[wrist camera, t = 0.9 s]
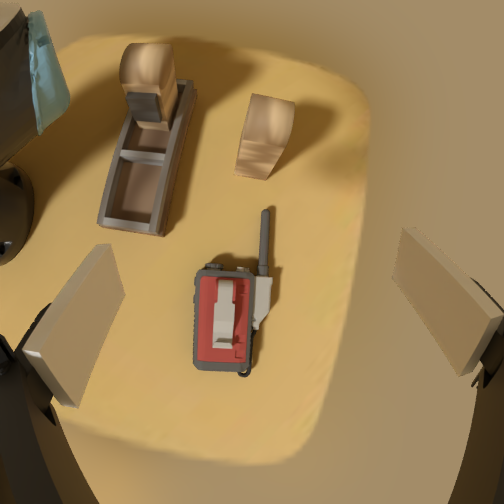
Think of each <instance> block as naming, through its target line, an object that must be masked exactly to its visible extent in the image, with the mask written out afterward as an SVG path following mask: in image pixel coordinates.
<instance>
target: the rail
mask: <svg viewBox="0 0 504 504" xmlns="http://www.w3.org/2000/svg"><path fill="white" fill-rule="evenodd" d="M119 74H120V82H121V85H122V87H123V90H124V92H125V95H126V101H127V103H128V106H129V110H128V113H127V116H126V118H125V121H124V124H123V127H122V130H121V133H120V136H119V139H118V142H117V146H116V149H115V152H114V155H113V159H112V162H111V166H110V169H109V173H108V177H107V181H106V184H105V188H104V192H103V197H102V201H101V205H100V210H99V214H98V219H97V224H99V226H101V227H103V228H109V229H115V230H121V231H128V232H134V233H140V234H147V235H153V236H160V237H164V235H165V229H166V224H167V219H168V213H169V208H170V203H171V198H172V194H173V189H174V184H175V180H176V175H177V171H178V166H179V162H180V158H181V154H182V150H183V146H184V142H185V138H186V134H187V130H188V126H189V122H190V119H191V115H192V111H193V108H194V104H195V101H196V97H197V89H194V87H193V81H192V80H182V79H176V74H175V66H174V57H173V49H172V46H171V44H156V43H131V44H129V45H128V46H127V48H126V49H125V51H124V53H123V56H122V59H121V63H120V73H119Z"/></svg>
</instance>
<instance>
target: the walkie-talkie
mask: <svg viewBox="0 0 504 504" xmlns="http://www.w3.org/2000/svg"><path fill="white" fill-rule="evenodd" d="M269 225H270V212H269V210H267V209H264V210H263V211H262V212H261V230H260V248H259V265H258V266H257V276H254V275H253V273H250V272H249V268H244V267H237V270H236V272H231V271H221V269H223V266H224V265H223V264H216V263H206V264H205V267H206V268H207V270H200V269H199V271H198V272H197V273H196V277H195V281H194V285H195V286H196V288H195V295H194V299H193V303H195V308H194V312H195V315H194V317H195V319H194V322H195V323H194V335H193V336H194V339H193V341H194V343H193V346H194V347H193V364H194V365H195V367H196V368H197V369H198V370H204V371H225V372H237V373H238V375H239V376H241V377H247V376H249V374H250V372H251V364H252V347H253V338H254V335H255V334H256V331H257V330H259V323H260V322H261V321H262V320H263V319H264V317H265V316H266V315H267V314H268V313H269V311H270V298H271V285H272V284H273V277H268V269H269V267H268V246H269ZM251 327H252V328H251ZM252 329H253V331H252V333H251V330H252ZM247 368H248V369H247ZM246 369H247V372H246V373H241V372H243V371H245V370H246Z"/></svg>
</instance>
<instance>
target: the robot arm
mask: <svg viewBox="0 0 504 504" xmlns="http://www.w3.org/2000/svg"><path fill="white" fill-rule="evenodd" d="M69 103H70V93H69V89H68V87H67V84H66V81H65V78H64V75H63V73H62V70H61V67H60V64H59V61H58V58H57V56H56V53H55V50H54V46H53V43H52V40H51V38H50V34H49V31H48V28H47V25H46V22H45V19H44V15H43V12H42V11H40V10H39V11H36V12H31V13H30V14H29V15H28V17H26V16H25V15H24V13H23V11H22V9H21V7H20V5H19V4H18V3H0V266H2V265H4V264H6V263H8V262H9V261H10V260H12V259H13V258H14V257H15V256H16V254H17V253H18V252H19V251H20V249H21V248H22V246H23V244H24V242H25V240H26V238H27V236H28V233H29V230H30V227H31V223H32V219H33V212H34V194H33V188H32V184H31V182H30V179H29V177H28V176H27V174H26V173H25V172H24V171H23V170H22V169H21V168H19V167H18V166H16V165H14V164H13V163H10V162H7V161H8V160H9V159H10V158H11V157H12V156H14V155H15V154H16V153H17V152H18V151H19V150H20V149H21V148H22V147H24V146H25V145H26V144H27V143H28V142H29V141H31V140H32V139H33V138H34V137H35V136H37V135H38V136H40V135H41V134H42V133H43V130H44V129H46V128H47V127H48V126H49V125H50V124H52V123H53V122H54V121H55V120H56V119H58V118H59V117H60V116H61V115H63V114H64V112H65V111H66V110H67V108H68V106H69ZM392 279H393V280H394V282H395V283H396V284H397V286H398V287H399V288H400V290H401V291H402V292H403V294H404V295H405V297H406V298H407V299H408V301H409V302H410V304H411V305H412V306H413V308H414V309H415V311H416V312H417V313H418V315H419V316H420V318H421V319H422V321H423V322H424V324H425V325H426V326H427V328H428V330H429V331H430V333H431V334H432V336H433V337H434V338H435V340H436V342H437V343H438V345H439V346H440V348H441V349H442V351H443V353H444V354H445V356H446V357H447V359H448V361H449V362H450V364H451V365H452V367H453V369H454V370H455V372H456V374H457V375H458V377H460V376H463V375H465V374H468V373H470V372H473V370H474V368H475V367H476V365H477V364H478V362H479V360H480V361H481V363H482V364H483V367H482V369H481V370H480V372H479V373H478V375H477V376H476V378H475V379H474V381H473V382H472V385H471V387H473V386H474V385H475V384H476V382H477V381H479V382H478V386H477V396H476V402H475V408H474V414H473V419H472V424H471V430H470V433H469V438H468V442H467V446H466V450H465V454H464V457H463V461H462V464H461V467H460V471H459V474H458V477H457V480H456V483H455V486H454V489H453V492H452V494H451V497H450V500H449V502H448V504H504V310H503V309H502V307H501V306H500V305H499V304H498V303H497V302H496V301H495V300H494V299H493V298H492V297H490V294H489V293H488V292H487V291H485V289H484V288H483V287H482V286H481V285H480V284H479V283H478V282H477V281H475V280H473V279H472V278H470V277H469V276H468V275H467V274H466V273H464V271H463V270H462V269H461V268H459V266H457V264H456V263H454V262H453V261H452V260H451V259H450V258H449V257H448V256H447V255H446V254H445V253H444V252H443V251H442V250H441V249H439V248H438V247H437V246H436V245H435V244H434V243H433V242H432V241H431V240H429V239H428V238H427V237H426V236H425V235H424V234H422V233H421V232H420V231H419V230H418V229H417V228H415V227H409V228H402V232H401V238H400V243H399V248H398V253H397V258H396V262H395V267H394V272H393V276H392ZM124 296H125V292H124V289H123V285H122V282H121V279H120V275H119V272H118V269H117V265H116V261H115V258H114V254H113V250H112V246H111V244H99V245H96V246H95V247H94V248H93V249H92V251H91V252H90V253H89V254H88V256H87V257H86V258H85V259H84V261H83V262H82V263H81V264H80V266H79V267H78V268H77V270H76V271H75V272H74V273H73V275H72V276H71V277H70V279H69V280H68V281H67V283H66V284H65V285H64V287H63V288H62V290H61V291H60V292H59V294H58V295H57V297H56V298H55V299H54V301H53V302H52V303H49V304H48V305H47V306H46V307H45V308H44V309H42V310H41V311H40V313H39V314H38V315H37V317H36V318H35V320H34V321H35V322H33V323H32V324H31V326H30V329H28V330H27V332H26V333H25V335H24V337H23V338H22V340H21V341H20V343H19V345H18V346H17V348H16V349H15V351H14V352H13V350H12V349H11V347H10V345H9V344H8V342H7V340H6V339H5V337H4V336H3V335H1V334H0V504H99V502H98V501H97V499H96V497H95V496H94V494H93V492H92V490H91V488H90V487H89V485H88V483H87V481H86V479H85V477H84V476H83V473H82V471H81V470H80V468H79V466H78V463H77V462H76V459H75V457H74V455H73V453H72V451H71V448H70V446H69V444H68V442H67V439H66V437H65V435H64V432H63V430H62V427H61V425H60V422H59V419H58V417H57V414H56V411H55V409H54V407H53V405H52V404H51V403H50V402H51V399H52V397H53V395H54V397H55V398H56V399H57V401H58V402H59V403H60V404H61V405H63V406H68V407H73V408H79V405H80V402H81V399H82V397H83V394H84V391H85V388H86V386H87V383H88V380H89V378H90V375H91V373H92V370H93V368H94V365H95V363H96V360H97V358H98V355H99V353H100V350H101V348H102V346H103V343H104V341H105V339H106V336H107V334H108V332H109V329H110V327H111V325H112V323H113V320H114V318H115V316H116V314H117V311H118V309H119V307H120V305H121V303H122V301H123V299H124Z"/></svg>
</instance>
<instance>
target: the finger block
mask: <svg viewBox="0 0 504 504" xmlns="http://www.w3.org/2000/svg"><path fill="white" fill-rule="evenodd" d="M294 113H295V104H294V102H291V101H286V100H282V99H277V98H273V97H268V96H263V95H258V94H253V93H252V96H251V99H250V103H249V107H248V111H247V115H246V119H245V122H244V126H243V130H242V134H241V138H240V143H239V149H238V154H237V160H236V166H235V171H234V175H238V176H244V177H249V178H255V179H260V180H266V179H267V177H268V176H269V174H270V172H271V171H272V169H273V167H274V166H275V164H276V162H277V161H278V159H279V157H280V156H281V154H282V152H283V151H284V149H285V147H286V145H287V143H288V140H289V137H290V134H291V130H292V126H293V121H294Z"/></svg>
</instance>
